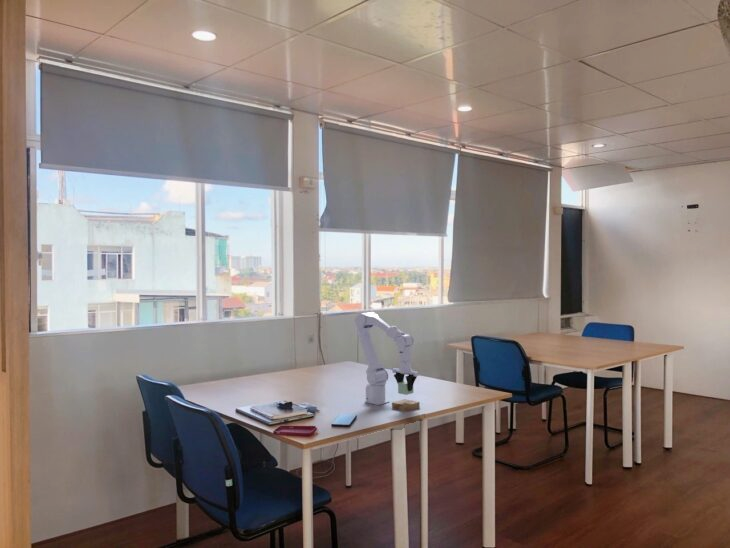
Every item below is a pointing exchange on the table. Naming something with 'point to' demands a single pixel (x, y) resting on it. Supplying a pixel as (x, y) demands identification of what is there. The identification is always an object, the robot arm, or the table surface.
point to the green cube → (403, 388)
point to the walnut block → (405, 405)
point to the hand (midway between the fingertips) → (405, 389)
